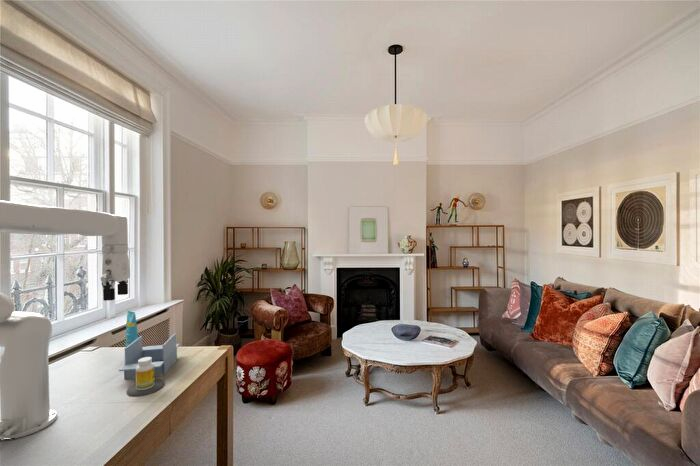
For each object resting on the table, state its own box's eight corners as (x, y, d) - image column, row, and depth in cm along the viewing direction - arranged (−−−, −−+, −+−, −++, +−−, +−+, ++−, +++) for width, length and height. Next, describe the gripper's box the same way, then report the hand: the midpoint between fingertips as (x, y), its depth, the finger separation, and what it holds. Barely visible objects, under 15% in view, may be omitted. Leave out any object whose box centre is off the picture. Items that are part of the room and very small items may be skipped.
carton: (160, 379, 115) (159, 349, 115) (118, 384, 112) (118, 353, 112) (179, 355, 138) (179, 329, 138) (145, 358, 135) (145, 332, 135)
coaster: (157, 394, 105) (157, 392, 105) (120, 398, 103) (120, 396, 103) (169, 378, 116) (169, 377, 116) (135, 382, 114) (135, 380, 114)
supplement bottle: (135, 386, 109) (134, 358, 109) (153, 381, 113) (152, 354, 113) (137, 392, 105) (136, 363, 105) (155, 387, 109) (155, 359, 109)
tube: (121, 355, 139) (120, 311, 138) (133, 351, 143) (132, 308, 142) (130, 358, 135) (129, 313, 135) (143, 354, 139) (142, 310, 139)
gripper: (114, 250, 106) (116, 302, 107) (137, 247, 123) (138, 292, 123) (89, 251, 105) (90, 303, 105) (115, 248, 122) (116, 293, 122)
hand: (116, 297), depth 114 cm, fingers open, 9 cm apart
